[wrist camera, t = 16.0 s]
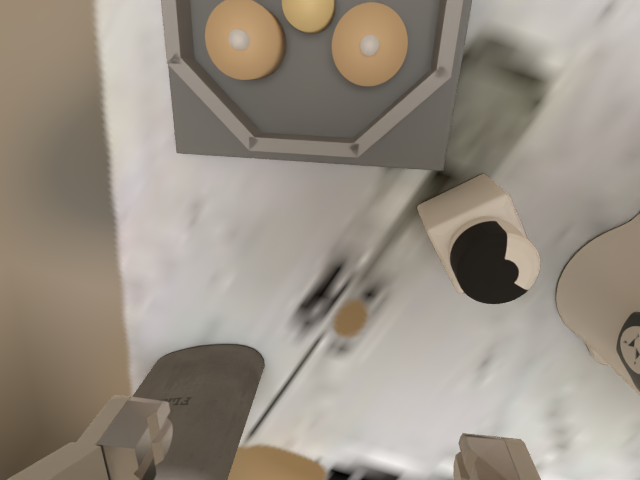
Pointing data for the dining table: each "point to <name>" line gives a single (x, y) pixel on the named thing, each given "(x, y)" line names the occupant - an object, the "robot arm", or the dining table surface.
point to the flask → (204, 407)
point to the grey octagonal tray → (316, 78)
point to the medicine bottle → (481, 241)
